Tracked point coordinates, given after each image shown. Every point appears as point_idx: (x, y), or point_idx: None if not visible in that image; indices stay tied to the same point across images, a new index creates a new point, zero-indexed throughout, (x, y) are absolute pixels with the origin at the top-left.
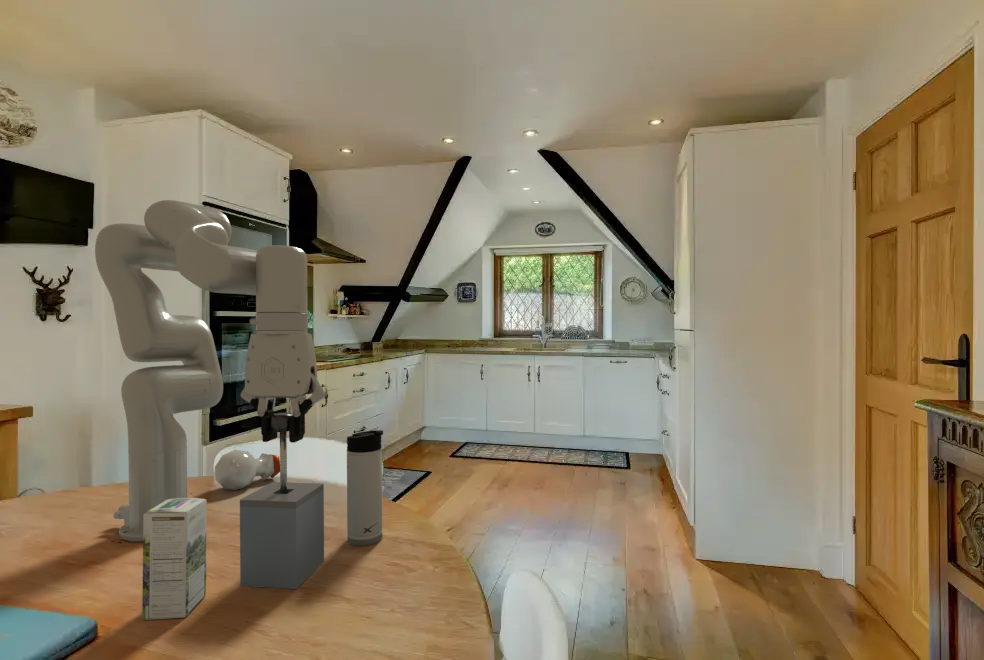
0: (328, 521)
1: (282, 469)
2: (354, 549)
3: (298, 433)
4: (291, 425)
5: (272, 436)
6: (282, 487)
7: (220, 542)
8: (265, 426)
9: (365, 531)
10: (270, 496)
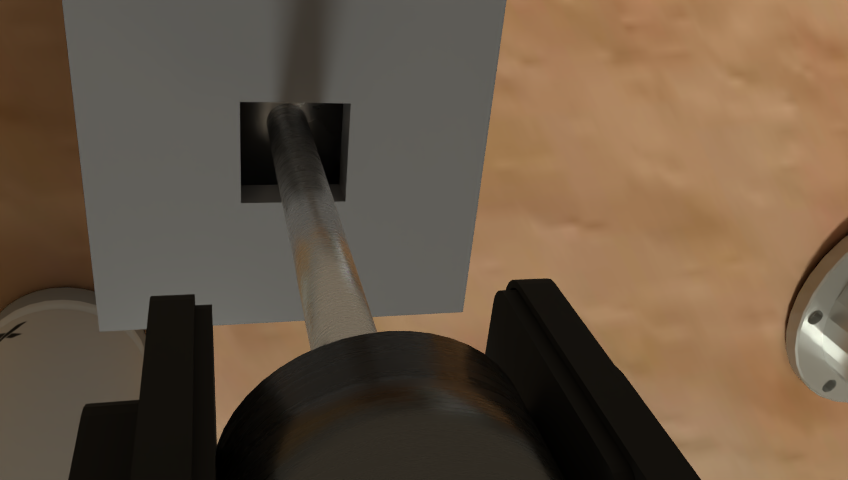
0: None
1: (307, 201)
2: (64, 258)
3: (108, 413)
4: (160, 432)
5: None
6: (296, 147)
7: (642, 240)
8: (584, 388)
9: (15, 327)
10: (330, 41)
